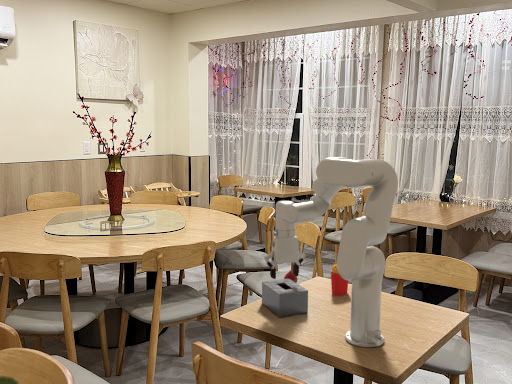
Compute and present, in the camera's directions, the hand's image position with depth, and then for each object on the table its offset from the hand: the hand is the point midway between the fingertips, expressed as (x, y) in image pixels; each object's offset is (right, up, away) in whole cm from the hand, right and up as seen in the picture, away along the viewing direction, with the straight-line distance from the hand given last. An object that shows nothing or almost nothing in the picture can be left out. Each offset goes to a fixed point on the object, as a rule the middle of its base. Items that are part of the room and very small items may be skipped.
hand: (284, 276), depth 191 cm
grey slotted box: (0, -13, +2) cm, 13 cm away
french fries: (+25, -11, +20) cm, 33 cm away
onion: (+4, -10, +27) cm, 29 cm away
